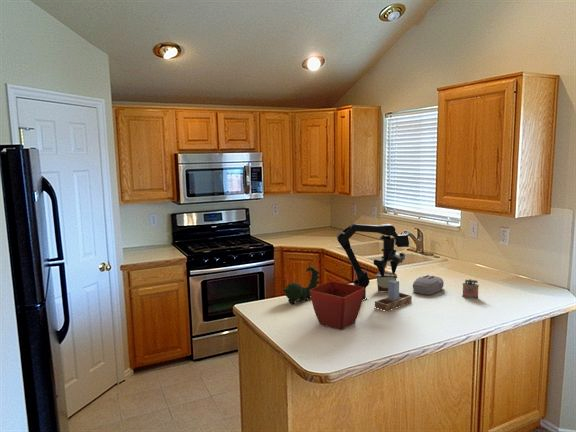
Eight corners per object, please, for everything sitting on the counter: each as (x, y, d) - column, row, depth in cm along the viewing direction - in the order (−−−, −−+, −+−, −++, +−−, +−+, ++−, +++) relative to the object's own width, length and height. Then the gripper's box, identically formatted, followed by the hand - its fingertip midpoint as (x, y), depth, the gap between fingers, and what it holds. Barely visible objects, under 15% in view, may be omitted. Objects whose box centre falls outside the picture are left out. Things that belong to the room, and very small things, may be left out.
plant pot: (331, 312, 211) (331, 280, 208) (365, 321, 199) (365, 286, 196) (309, 324, 196) (308, 289, 194) (344, 334, 184) (343, 297, 182)
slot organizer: (386, 311, 210) (386, 305, 209) (374, 307, 216) (374, 301, 215) (411, 302, 223) (411, 295, 223) (399, 298, 229) (399, 292, 229)
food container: (395, 288, 246) (395, 272, 245) (397, 291, 240) (397, 275, 239) (374, 288, 248) (374, 271, 246) (375, 291, 241) (375, 274, 240)
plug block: (394, 305, 217) (394, 282, 215) (387, 303, 220) (388, 281, 218) (398, 303, 219) (399, 281, 217) (392, 301, 222) (392, 279, 220)
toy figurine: (310, 296, 240) (276, 303, 224) (312, 264, 239) (278, 268, 222) (321, 300, 233) (288, 307, 217) (323, 267, 232) (289, 271, 215)
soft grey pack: (422, 284, 254) (407, 292, 239) (423, 271, 253) (407, 278, 238) (447, 289, 244) (432, 298, 229) (447, 275, 243) (433, 283, 228)
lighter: (461, 297, 229) (462, 279, 228) (462, 295, 232) (463, 278, 230) (478, 299, 225) (478, 281, 224) (478, 297, 228) (479, 279, 227)
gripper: (390, 252, 213) (389, 282, 215) (411, 247, 225) (411, 275, 227) (372, 249, 222) (372, 277, 224) (394, 244, 234) (394, 271, 236)
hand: (388, 275), depth 228 cm, fingers open, 9 cm apart
